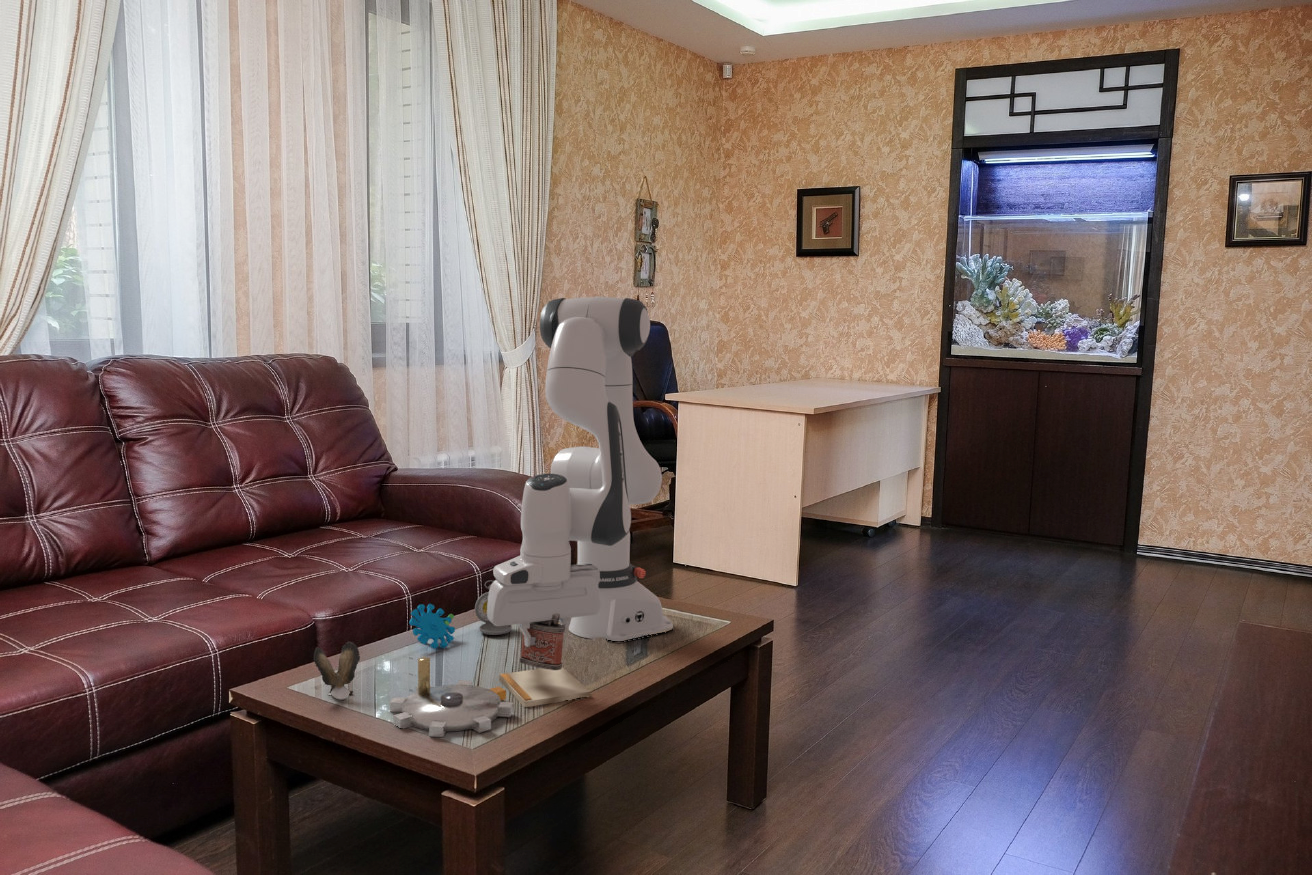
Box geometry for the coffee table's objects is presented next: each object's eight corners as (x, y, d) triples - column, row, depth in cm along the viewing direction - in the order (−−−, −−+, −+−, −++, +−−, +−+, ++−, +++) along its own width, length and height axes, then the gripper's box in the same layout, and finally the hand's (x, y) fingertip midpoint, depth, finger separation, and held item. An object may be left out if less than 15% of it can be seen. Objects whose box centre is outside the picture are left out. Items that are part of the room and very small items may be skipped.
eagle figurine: (344, 686, 179) (343, 637, 178) (369, 696, 174) (369, 646, 173) (306, 699, 173) (305, 648, 172) (331, 709, 168) (330, 657, 167)
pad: (560, 670, 189) (560, 664, 189) (590, 696, 177) (590, 690, 177) (499, 679, 184) (499, 673, 184) (524, 707, 172) (524, 700, 172)
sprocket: (451, 680, 182) (452, 639, 181) (537, 707, 171) (537, 663, 170) (363, 715, 165) (363, 670, 164) (451, 747, 154) (451, 699, 153)
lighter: (565, 666, 180) (569, 611, 179) (556, 671, 177) (561, 615, 176) (525, 657, 183) (529, 603, 182) (516, 662, 180) (520, 607, 179)
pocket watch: (498, 638, 207) (498, 590, 206) (466, 631, 211) (466, 584, 210) (522, 628, 214) (522, 582, 213) (490, 621, 218) (491, 576, 217)
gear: (429, 651, 195) (404, 608, 198) (413, 666, 198) (388, 624, 201) (469, 636, 205) (444, 595, 207) (453, 651, 207) (428, 611, 210)
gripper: (593, 558, 185) (591, 631, 187) (484, 568, 176) (483, 645, 178) (606, 566, 180) (605, 642, 181) (495, 577, 170) (494, 656, 172)
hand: (544, 643), depth 179 cm, fingers closed on lighter, 4 cm apart
